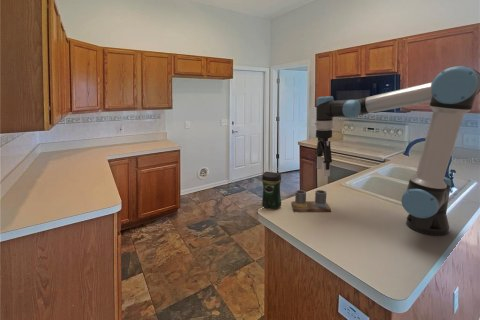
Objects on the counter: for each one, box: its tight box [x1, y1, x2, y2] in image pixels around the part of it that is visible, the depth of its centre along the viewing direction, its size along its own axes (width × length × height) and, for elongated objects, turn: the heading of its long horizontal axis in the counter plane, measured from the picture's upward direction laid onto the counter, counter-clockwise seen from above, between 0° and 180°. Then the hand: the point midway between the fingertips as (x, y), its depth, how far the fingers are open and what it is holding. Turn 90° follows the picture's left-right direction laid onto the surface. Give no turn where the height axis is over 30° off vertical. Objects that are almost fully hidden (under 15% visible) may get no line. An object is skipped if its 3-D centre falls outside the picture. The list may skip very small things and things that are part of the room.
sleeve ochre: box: [294, 189, 307, 207], centre depth 137 cm, size 6×6×7 cm
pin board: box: [291, 200, 332, 213], centre depth 137 cm, size 18×10×7 cm, turn 87°
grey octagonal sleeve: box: [314, 189, 327, 207], centre depth 136 cm, size 6×6×7 cm
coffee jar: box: [261, 171, 282, 210], centre depth 139 cm, size 10×8×19 cm
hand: (322, 172), depth 133 cm, fingers open, 13 cm apart
